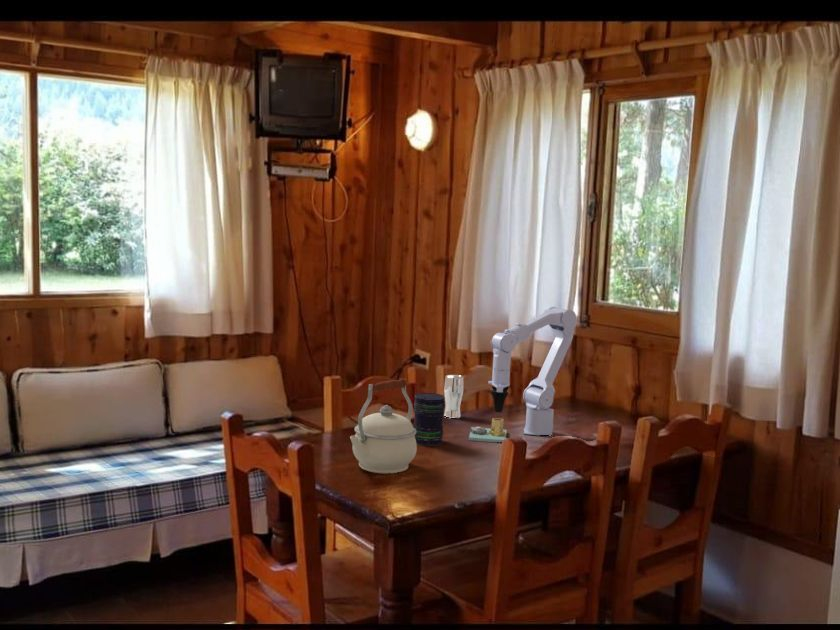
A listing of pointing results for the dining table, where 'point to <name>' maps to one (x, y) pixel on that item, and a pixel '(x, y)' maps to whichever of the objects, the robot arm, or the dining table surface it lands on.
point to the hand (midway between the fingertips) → (498, 409)
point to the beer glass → (453, 395)
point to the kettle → (385, 435)
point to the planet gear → (497, 427)
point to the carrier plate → (484, 435)
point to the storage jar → (429, 418)
